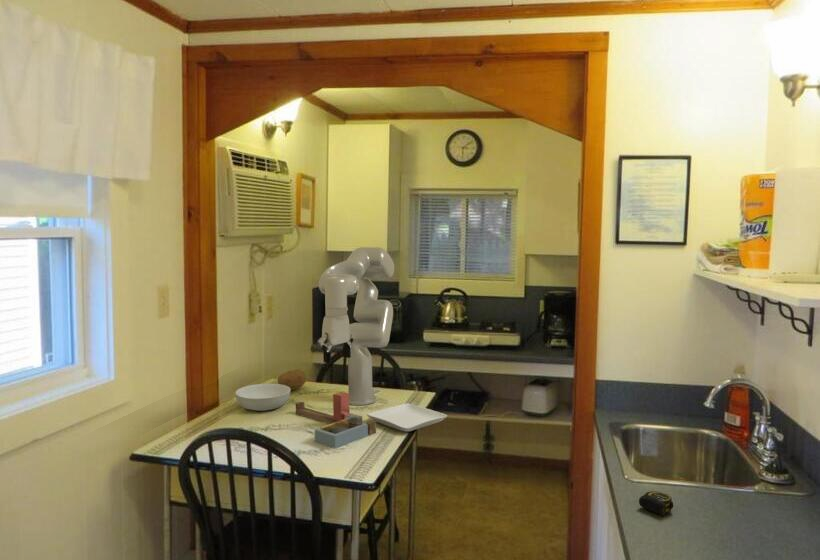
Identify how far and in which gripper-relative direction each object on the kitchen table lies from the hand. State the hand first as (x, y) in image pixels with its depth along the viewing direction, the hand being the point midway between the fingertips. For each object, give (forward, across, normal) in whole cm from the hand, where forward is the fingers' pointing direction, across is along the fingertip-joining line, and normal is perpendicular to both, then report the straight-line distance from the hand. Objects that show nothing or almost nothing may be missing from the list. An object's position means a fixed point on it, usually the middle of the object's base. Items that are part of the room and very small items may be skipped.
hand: (337, 359), depth 225 cm
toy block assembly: (+22, +8, +6) cm, 25 cm away
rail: (+23, +1, -1) cm, 23 cm away
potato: (+24, -20, -48) cm, 57 cm away
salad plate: (+24, -16, +19) cm, 34 cm away
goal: (+23, +12, +13) cm, 29 cm away
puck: (+23, +11, +12) cm, 28 cm away
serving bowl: (+24, +4, -36) cm, 43 cm away
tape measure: (+22, +1, +112) cm, 114 cm away
